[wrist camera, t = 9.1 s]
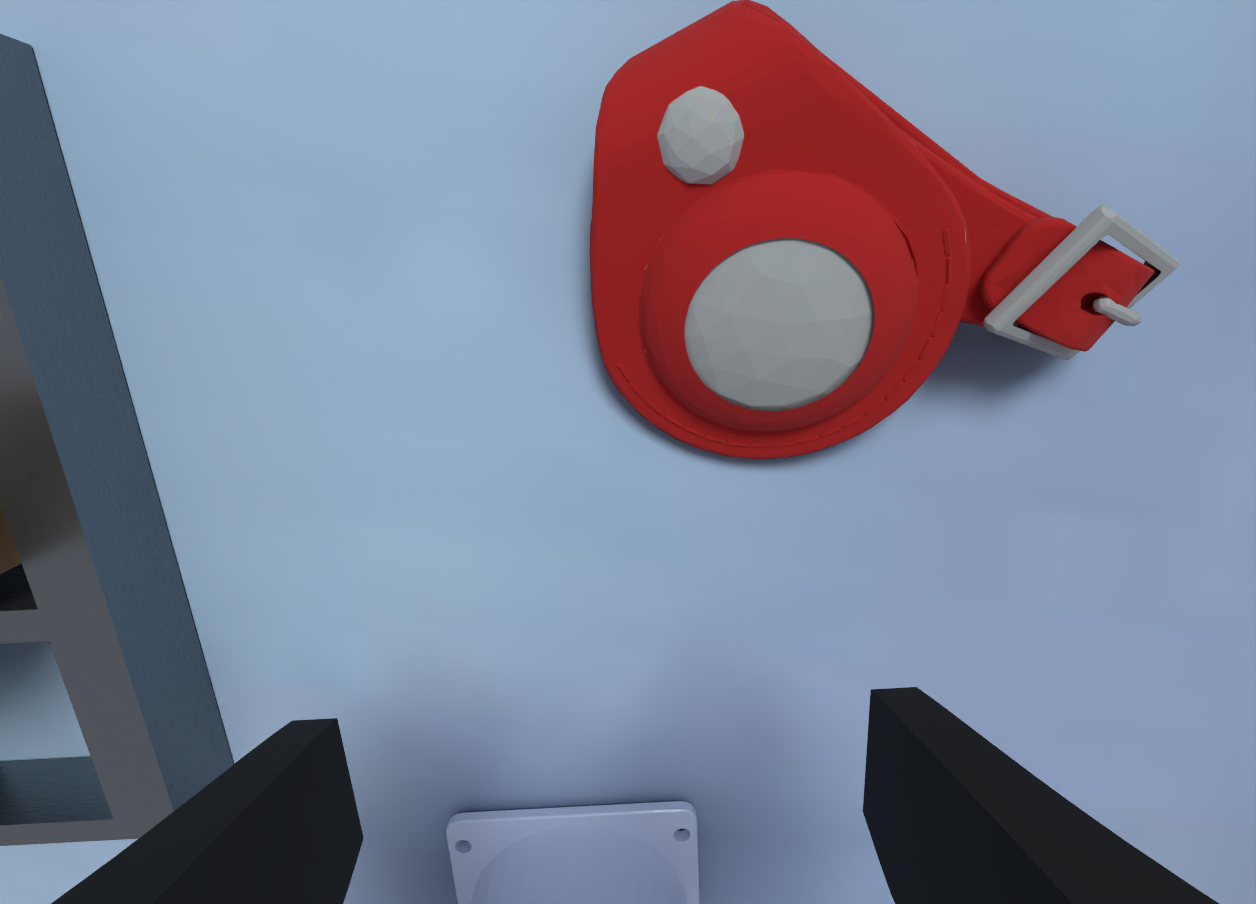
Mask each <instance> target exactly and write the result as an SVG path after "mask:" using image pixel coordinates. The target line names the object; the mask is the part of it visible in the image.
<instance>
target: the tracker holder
mask: <svg viewBox="0 0 1256 904" xmlns="http://www.w3.org/2000/svg"><path fill="white" fill-rule="evenodd" d="M1106 235H1110V236H1111V237H1113V238H1114V239H1116V240H1117V241H1118V242H1120V243H1121V244H1123V245H1124V246H1125V247H1127V248H1128V249H1130V250H1131V251H1133V252H1134V253H1135V254H1137V255H1138V256H1140V257H1141V258H1142V259H1144V260H1145V263H1144V264H1142V263H1140V262H1138V261H1137V260H1135V259H1133V258H1131V257H1130V256H1128V255H1126V254H1124V253H1122V252H1121V251H1119V250H1117V249H1115V248H1114V247H1112V246H1110V245H1108V244H1107V243H1105V242H1103V241H1101V240H1100V239H1101V238H1103V237H1104V236H1106ZM1178 265H1179V262H1178V260H1177V259H1176V258H1174V257H1173V256H1172V255H1171V254H1169V253H1168V252H1167V251H1165V250H1164V249H1163V248H1162V247H1160V246H1159V245H1158V244H1156V243H1155V242H1154V241H1152V240H1151V239H1150V238H1149V237H1147V236H1146V235H1145V234H1143V233H1142V232H1141V231H1139V230H1138V229H1137V228H1136V227H1134V226H1133V225H1132V224H1130V223H1129V222H1128V221H1127V220H1125V219H1124V218H1123V217H1121V216H1120V215H1119V214H1117V213H1116V212H1115V211H1114V210H1112V209H1111V208H1110V207H1107V206H1100V207H1098V208H1097V209H1095V210H1094V211H1093V212H1092V213H1091V214H1090V215H1089V216H1088V217H1087V218H1086V219H1085V220H1084V221H1083V222H1081V223H1080V224H1079V225H1078V226H1075V225H1073V224H1071V223H1069V222H1068V221H1066V220H1064V219H1061V218H1056V217H1052V216H1050V215H1048V214H1046V213H1044V212H1042V211H1041V210H1039V209H1037V208H1035V207H1033V206H1031V205H1029V204H1027V203H1025V202H1023V201H1021V200H1019V199H1017V198H1015V197H1013V196H1011V195H1009V194H1008V193H1006V192H1004V191H1002V190H1000V189H998V188H996V187H995V186H993V185H991V184H989V183H988V182H986V181H984V180H982V179H981V178H979V177H978V176H977V175H976V174H974V173H973V172H972V171H970V170H969V169H968V168H967V167H965V166H964V165H963V164H962V163H960V162H959V161H958V160H957V159H955V158H954V157H953V156H952V155H950V154H949V153H948V152H946V151H945V150H944V149H943V148H941V147H940V146H939V145H938V144H936V143H935V142H934V141H933V140H931V139H930V138H929V137H928V136H926V135H925V134H924V133H922V132H921V131H920V130H919V129H917V128H916V127H915V126H914V125H912V124H911V123H910V122H909V121H907V120H906V119H905V118H904V117H902V116H901V115H900V114H899V113H897V112H896V111H895V110H893V109H892V108H891V107H890V106H888V105H887V104H886V103H885V102H883V101H882V100H881V99H880V98H878V97H877V96H876V95H875V94H873V93H872V92H871V91H869V90H868V89H867V88H866V87H864V86H863V85H862V84H861V83H859V82H858V81H857V80H856V79H854V78H853V77H852V76H851V75H849V74H848V73H847V72H845V71H844V70H843V69H842V68H840V67H839V66H838V65H837V64H835V63H834V62H833V61H832V60H830V59H829V58H828V57H827V56H825V55H824V54H823V53H822V52H820V51H819V50H818V49H817V48H816V47H815V46H814V45H813V44H811V43H810V42H809V41H808V40H807V39H806V38H805V37H804V36H803V35H801V34H800V33H799V32H798V31H797V30H796V29H795V28H794V27H793V26H792V25H790V24H789V23H788V22H787V21H785V20H784V19H783V18H781V17H780V16H779V15H777V14H776V13H775V12H774V11H772V10H771V9H770V8H768V7H767V6H764V5H762V4H759V3H757V2H754V1H751V0H739V1H732V2H730V3H728V4H727V5H725V6H723V7H721V8H719V9H718V10H716V11H714V12H712V13H711V14H709V15H707V16H705V17H703V18H702V19H700V20H698V21H696V22H694V23H693V24H691V25H689V26H687V27H686V28H684V29H682V30H680V31H678V32H677V33H675V34H673V35H671V36H669V37H668V38H666V39H664V40H662V41H661V42H659V43H657V44H655V45H653V46H652V47H650V48H648V49H646V50H644V51H643V52H641V53H639V54H637V55H636V56H634V57H632V58H630V59H629V60H628V61H627V62H626V63H625V64H624V65H623V66H622V67H621V68H620V69H619V70H618V71H617V72H616V73H615V74H614V76H613V77H612V79H611V80H610V81H609V83H608V84H607V86H606V88H605V91H604V94H603V98H602V102H601V107H600V111H599V116H598V120H597V125H596V137H595V153H594V174H593V205H592V220H591V228H590V269H591V291H592V306H593V313H594V320H595V327H596V333H597V338H598V343H599V348H600V352H601V355H602V358H603V361H604V364H605V367H606V369H607V371H608V373H609V375H610V377H611V379H612V381H613V382H614V384H615V386H616V387H617V389H618V390H619V391H620V393H621V394H622V395H623V396H624V397H625V398H626V399H627V400H628V401H629V403H630V404H631V405H632V406H633V407H634V408H635V409H636V410H637V411H638V412H639V414H640V415H642V416H643V417H644V418H645V419H647V420H648V421H649V422H651V423H652V424H653V425H654V426H656V427H657V428H659V429H660V430H662V431H664V432H665V433H667V434H668V435H670V436H672V437H673V438H675V439H677V440H679V441H682V442H684V443H687V444H689V445H692V446H694V447H697V448H699V449H702V450H706V451H709V452H713V453H716V454H720V455H725V456H733V457H742V458H751V459H766V458H783V457H792V456H797V455H803V454H807V453H811V452H815V451H819V450H822V449H825V448H827V447H830V446H833V445H836V444H838V443H841V442H843V441H846V440H848V439H850V438H852V437H855V436H857V435H859V434H861V433H863V432H864V431H866V430H868V429H870V428H871V427H873V426H874V425H876V424H877V423H879V422H880V421H882V420H883V419H884V418H886V417H887V416H889V415H890V414H892V413H893V412H894V411H895V410H897V409H898V408H899V407H900V406H901V405H902V404H904V403H905V402H906V401H907V400H908V399H909V398H910V397H911V396H912V395H913V394H914V393H915V392H916V390H917V389H918V388H919V387H920V386H921V385H922V384H923V383H924V381H925V380H926V379H927V378H928V377H929V375H930V374H931V373H932V372H933V371H934V369H935V368H936V367H937V365H938V364H939V362H940V360H941V359H942V357H943V356H944V354H945V352H946V351H947V349H948V347H949V345H950V343H951V341H952V339H953V336H954V334H955V332H956V330H957V328H958V324H959V322H966V323H971V324H975V325H979V326H984V327H985V328H986V329H987V330H988V331H990V332H992V333H995V334H997V335H1000V336H1003V337H1005V338H1008V339H1011V340H1013V341H1016V342H1019V343H1021V344H1024V345H1027V346H1030V347H1032V348H1035V349H1038V350H1040V351H1043V352H1046V353H1048V354H1051V355H1054V356H1056V357H1059V358H1062V359H1065V360H1069V359H1071V358H1073V357H1074V356H1075V355H1076V354H1077V353H1078V352H1080V351H1087V350H1089V349H1090V348H1091V347H1092V346H1093V345H1094V344H1095V342H1096V341H1097V340H1098V339H1099V338H1100V337H1101V336H1102V335H1103V334H1104V333H1105V331H1106V330H1107V329H1108V328H1109V327H1110V326H1111V325H1112V324H1113V323H1114V322H1115V321H1117V322H1119V323H1121V324H1123V325H1126V326H1135V325H1137V324H1139V323H1140V322H1141V320H1142V316H1141V314H1140V313H1139V312H1137V311H1134V310H1132V309H1130V308H1131V307H1132V306H1133V305H1134V304H1136V303H1137V302H1138V301H1139V300H1140V299H1141V298H1143V297H1144V296H1145V295H1146V294H1147V293H1148V292H1150V291H1151V290H1152V289H1153V288H1154V287H1155V286H1157V285H1158V284H1159V283H1160V282H1161V281H1162V280H1164V279H1165V278H1166V277H1167V276H1168V275H1169V274H1171V273H1172V272H1173V271H1174V270H1175V269H1176V268H1177V267H1178Z"/></svg>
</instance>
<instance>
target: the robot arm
mask: <svg viewBox="0 0 1256 904" xmlns="http://www.w3.org/2000/svg"><path fill="white" fill-rule="evenodd" d="M863 813H864V816H865V819H866V822H867V825H868V828H869V831H870V834H871V837H872V840H873V843H874V846H875V849H876V852H877V855H878V858H879V861H880V864H881V867H882V870H883V872H884V875H885V878H886V881H887V884H888V887H889V889H890V892H891V895H892V897H893V900H894V902H895V904H1219V903H1217V902H1216V901H1214V900H1213V899H1211V898H1210V897H1208V896H1207V895H1205V894H1203V893H1202V892H1200V891H1199V890H1197V889H1196V888H1194V887H1193V886H1191V885H1190V884H1188V883H1187V882H1185V881H1184V880H1182V879H1181V878H1179V877H1178V876H1177V875H1175V874H1174V873H1172V872H1171V871H1169V870H1168V869H1166V868H1165V867H1163V866H1162V865H1160V864H1159V863H1157V862H1156V861H1154V860H1153V859H1151V858H1150V857H1148V856H1147V855H1145V854H1144V853H1142V852H1141V851H1139V850H1138V849H1136V848H1135V847H1133V846H1132V845H1130V844H1129V843H1128V842H1126V841H1125V840H1123V839H1122V838H1120V837H1119V836H1117V835H1116V834H1115V833H1113V832H1112V831H1110V830H1109V829H1108V828H1106V827H1105V826H1103V825H1102V824H1100V823H1099V822H1098V821H1096V820H1095V819H1093V818H1092V817H1090V816H1089V815H1088V814H1086V813H1085V812H1083V811H1082V810H1081V809H1079V808H1078V807H1077V806H1075V805H1074V804H1072V803H1071V802H1070V801H1068V800H1067V799H1065V798H1064V797H1063V796H1061V795H1060V794H1059V793H1057V792H1056V791H1055V790H1053V789H1052V788H1050V787H1049V786H1048V785H1046V784H1045V783H1044V782H1042V781H1041V780H1040V779H1038V778H1037V777H1035V776H1034V775H1033V774H1031V773H1030V772H1029V771H1027V770H1026V769H1025V768H1023V767H1022V766H1021V765H1019V764H1018V763H1017V762H1015V761H1014V760H1013V759H1011V758H1010V757H1009V756H1007V755H1006V754H1005V753H1004V752H1002V751H1001V750H1000V749H998V748H997V747H996V746H994V745H993V744H992V743H990V742H989V741H988V740H986V739H985V738H984V737H982V736H981V735H980V734H978V733H977V732H976V731H975V730H973V729H972V728H971V727H969V726H968V725H967V724H965V723H964V722H963V721H961V720H960V719H959V718H957V717H956V716H955V715H954V714H952V713H951V712H950V711H948V710H947V709H946V708H944V707H943V706H942V705H940V704H939V703H938V702H936V701H935V700H934V699H932V698H931V697H929V696H928V695H927V694H925V693H924V692H922V691H921V690H920V689H918V688H917V687H910V688H892V689H873V690H871V695H870V710H869V726H868V741H867V757H866V772H865V788H864V803H863ZM681 828H682V829H686V830H683V831H678V829H681ZM446 837H447V843H448V849H449V854H450V860H451V866H452V872H453V878H454V883H455V889H456V895H457V901H458V904H699V870H698V836H697V817H696V811H695V808H694V807H693V806H692V805H691V804H690V803H688V802H684V801H672V802H653V803H634V804H615V805H597V806H578V807H559V808H540V809H522V810H503V811H484V812H465V813H458V814H455V815H454V816H452V817H451V818H450V820H449V822H448V825H447V829H446ZM461 840H465V841H468V842H463V841H461ZM362 841H363V834H362V829H361V825H360V820H359V816H358V811H357V807H356V802H355V798H354V793H353V788H352V784H351V779H350V775H349V770H348V766H347V761H346V757H345V752H344V747H343V743H342V738H341V734H340V729H339V725H338V720H337V718H335V719H316V720H297V721H291V722H290V723H288V724H287V725H286V726H284V727H283V728H281V729H280V730H279V731H277V732H276V733H274V734H273V735H272V736H270V737H269V738H268V739H266V740H265V741H264V742H262V743H261V744H260V745H258V746H257V747H256V748H254V749H253V750H252V751H250V752H249V753H248V754H247V755H245V756H244V757H243V758H241V759H240V760H239V761H238V762H236V763H235V764H234V765H232V766H231V767H230V768H229V769H227V770H226V771H225V772H224V773H222V774H221V775H220V776H218V777H217V778H216V779H215V780H213V781H212V782H211V783H210V784H208V785H207V786H206V787H204V788H203V789H202V790H201V791H199V792H198V793H197V794H196V795H194V796H193V797H192V798H190V799H189V800H188V801H187V802H185V803H184V804H183V805H181V806H180V807H179V808H177V809H176V810H175V811H174V812H172V813H171V814H170V815H168V816H167V817H166V818H165V819H163V820H162V821H161V822H159V823H158V824H157V825H156V826H154V827H153V828H152V829H150V830H149V831H148V832H147V833H145V834H144V835H143V836H141V837H140V838H139V839H138V840H136V841H135V842H134V843H132V844H131V845H130V846H129V847H127V848H126V849H125V850H123V851H122V852H121V853H119V854H118V855H117V856H115V857H114V858H113V859H111V860H110V861H109V862H107V863H106V864H105V865H103V866H102V867H100V868H99V869H98V870H96V871H95V872H94V873H92V874H91V875H90V876H88V877H87V878H85V879H84V880H83V881H81V882H80V883H79V884H77V885H76V886H75V887H73V888H72V889H70V890H69V891H68V892H66V893H65V894H64V895H62V896H61V897H60V898H58V899H57V900H56V901H54V902H53V903H51V904H343V902H344V899H345V896H346V893H347V890H348V887H349V884H350V880H351V877H352V874H353V871H354V867H355V864H356V861H357V857H358V854H359V851H360V848H361V844H362Z"/></svg>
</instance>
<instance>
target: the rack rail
mask: <svg viewBox="0 0 1256 904" xmlns="http://www.w3.org/2000/svg"><path fill="white" fill-rule="evenodd" d="M0 504H1V507H2V510H3V513H4V516H5V518H6V521H7V524H8V527H9V530H10V532H11V535H12V538H13V541H14V544H15V546H16V549H17V552H18V555H19V557H20V560H21V563H22V566H23V569H10V570H8V571H6V572H4V573H2V574H0V644H10V643H28V642H47V641H50V644H51V647H52V650H53V652H54V655H55V658H56V661H57V663H58V666H59V669H60V672H61V675H62V677H63V680H64V683H65V686H66V689H67V691H68V694H69V697H70V700H71V703H72V705H73V708H74V711H75V714H76V716H77V719H78V722H79V725H80V728H81V730H82V733H83V736H84V739H85V742H86V744H87V747H88V750H89V753H90V756H91V757H75V758H56V759H38V760H19V761H1V762H0V846H7V845H26V844H44V843H63V842H82V841H101V840H119V839H138V838H140V837H141V836H143V835H144V834H145V833H147V832H148V831H149V830H150V829H152V828H153V827H154V826H156V825H157V824H158V823H159V822H161V821H162V820H163V819H165V818H166V817H167V816H168V815H170V814H171V813H172V812H174V811H175V810H176V809H177V808H179V807H180V806H181V805H183V804H184V803H185V802H187V801H188V800H189V799H190V798H192V797H193V796H194V795H196V794H197V793H198V792H199V791H201V790H202V789H203V788H204V787H206V786H207V785H208V784H210V783H211V782H212V781H213V780H215V779H216V778H217V777H218V776H220V775H221V774H222V773H224V772H225V771H226V770H227V769H229V768H230V767H231V766H232V765H234V764H233V760H232V757H231V753H230V750H229V746H228V742H227V739H226V735H225V732H224V728H223V725H222V721H221V718H220V714H219V710H218V707H217V703H216V700H215V696H214V693H213V689H212V686H211V682H210V679H209V675H208V671H207V668H206V664H205V661H204V657H203V654H202V650H201V647H200V643H199V640H198V636H197V632H196V629H195V625H194V622H193V618H192V615H191V611H190V608H189V604H188V601H187V597H186V593H185V590H184V586H183V583H182V579H181V576H180V572H179V569H178V565H177V561H176V558H175V554H174V551H173V547H172V544H171V540H170V537H169V533H168V530H167V526H166V522H165V519H164V515H163V512H162V508H161V505H160V501H159V498H158V494H157V491H156V487H155V483H154V480H153V476H152V473H151V469H150V466H149V462H148V459H147V455H146V451H145V448H144V444H143V441H142V437H141V434H140V430H139V427H138V423H137V420H136V416H135V412H134V409H133V405H132V402H131V398H130V395H129V391H128V388H127V384H126V381H125V377H124V373H123V370H122V366H121V363H120V359H119V356H118V352H117V349H116V345H115V341H114V338H113V334H112V331H111V327H110V324H109V320H108V317H107V313H106V310H105V306H104V302H103V299H102V295H101V292H100V288H99V285H98V281H97V278H96V274H95V271H94V267H93V263H92V260H91V256H90V253H89V249H88V246H87V242H86V239H85V235H84V232H83V228H82V224H81V221H80V217H79V214H78V210H77V207H76V203H75V200H74V196H73V192H72V189H71V185H70V182H69V178H68V175H67V171H66V168H65V164H64V161H63V157H62V153H61V150H60V146H59V143H58V139H57V136H56V132H55V129H54V125H53V122H52V118H51V114H50V111H49V107H48V104H47V100H46V97H45V93H44V90H43V86H42V82H41V79H40V75H39V72H38V68H37V65H36V61H35V58H34V54H33V51H32V47H31V45H29V44H26V43H23V42H21V41H18V40H16V39H13V38H10V37H8V36H5V35H2V34H0Z"/></svg>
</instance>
